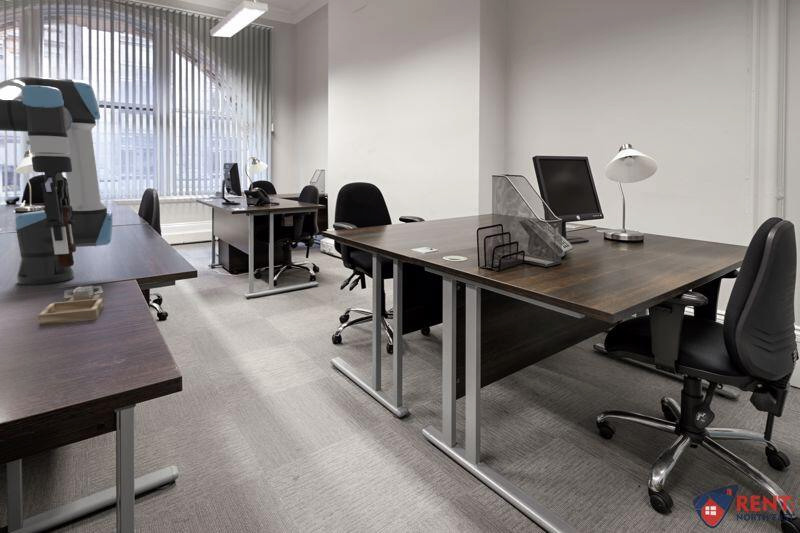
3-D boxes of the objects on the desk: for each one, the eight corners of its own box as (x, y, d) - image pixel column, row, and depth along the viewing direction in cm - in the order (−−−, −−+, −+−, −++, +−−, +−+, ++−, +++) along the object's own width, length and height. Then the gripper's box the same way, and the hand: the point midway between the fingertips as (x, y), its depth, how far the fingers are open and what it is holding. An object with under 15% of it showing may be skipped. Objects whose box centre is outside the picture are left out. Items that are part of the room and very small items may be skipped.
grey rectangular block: (79, 298, 131) (77, 286, 130) (94, 297, 133) (93, 284, 132) (74, 304, 125) (72, 291, 125) (90, 303, 127) (88, 290, 126)
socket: (62, 301, 129) (61, 292, 129) (110, 297, 134) (109, 288, 133) (39, 325, 109) (38, 315, 109) (96, 319, 114) (95, 309, 113)
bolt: (85, 264, 116) (77, 205, 113) (69, 268, 111) (60, 206, 108) (64, 264, 117) (55, 205, 114) (47, 268, 112) (38, 206, 109)
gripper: (42, 156, 115) (55, 247, 120) (18, 153, 99) (35, 259, 104) (78, 157, 118) (89, 245, 123) (60, 154, 102) (74, 256, 107)
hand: (64, 251), depth 113 cm, fingers closed on bolt, 5 cm apart
